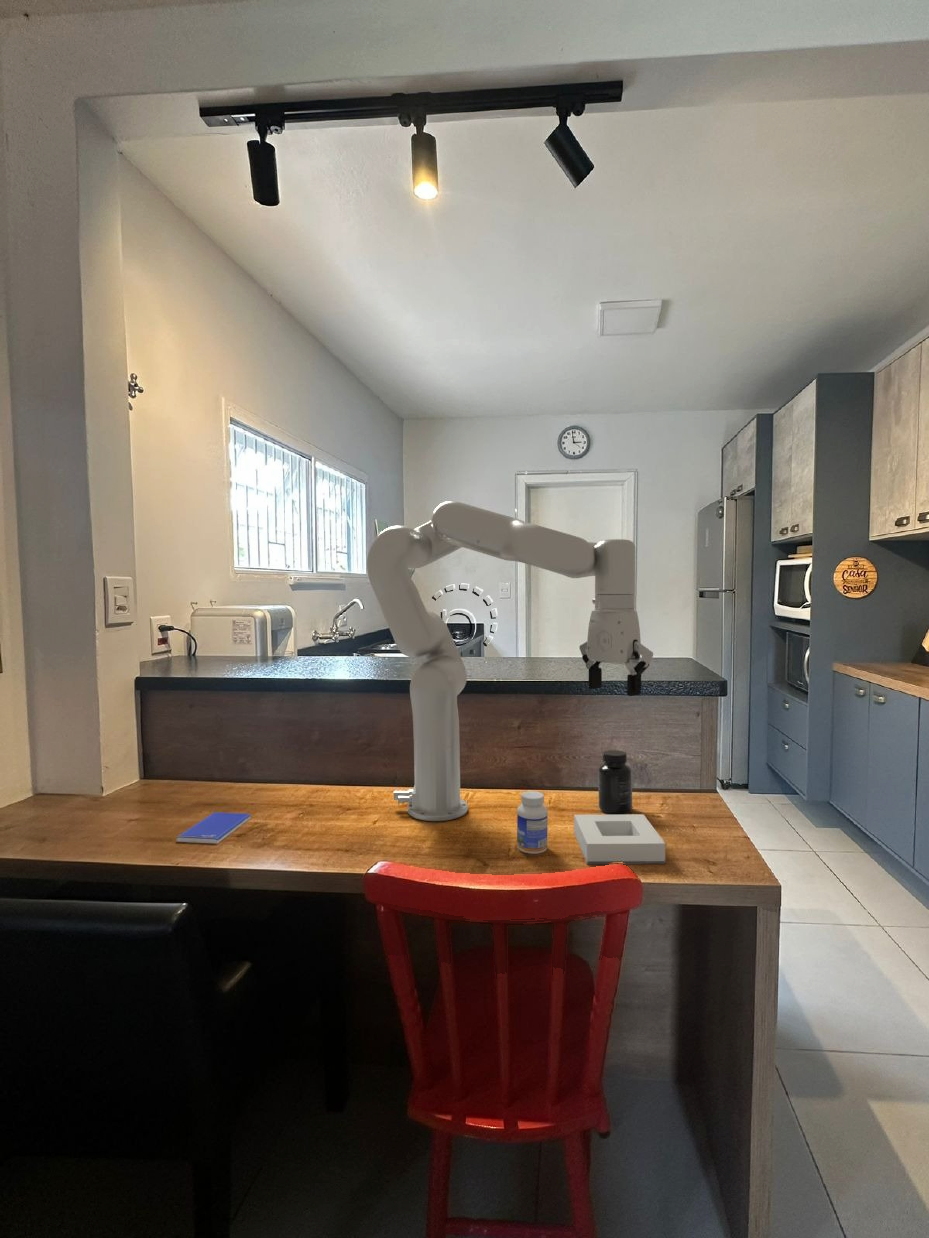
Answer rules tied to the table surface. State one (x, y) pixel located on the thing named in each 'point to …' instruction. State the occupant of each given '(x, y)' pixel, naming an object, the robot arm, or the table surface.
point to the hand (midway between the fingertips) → (613, 691)
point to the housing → (618, 839)
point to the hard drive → (214, 828)
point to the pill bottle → (532, 823)
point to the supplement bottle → (615, 783)
